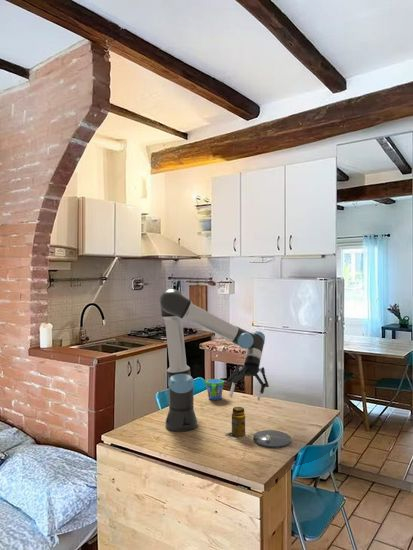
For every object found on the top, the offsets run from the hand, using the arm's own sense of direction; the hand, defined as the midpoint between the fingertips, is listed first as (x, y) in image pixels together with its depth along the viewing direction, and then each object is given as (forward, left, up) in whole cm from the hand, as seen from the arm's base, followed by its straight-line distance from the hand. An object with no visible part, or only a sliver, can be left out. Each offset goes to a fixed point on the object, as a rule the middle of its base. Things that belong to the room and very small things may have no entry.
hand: (244, 397), depth 198 cm
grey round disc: (+15, -10, -14) cm, 23 cm away
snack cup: (-30, +37, -14) cm, 49 cm away
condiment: (-1, -10, -14) cm, 18 cm away
